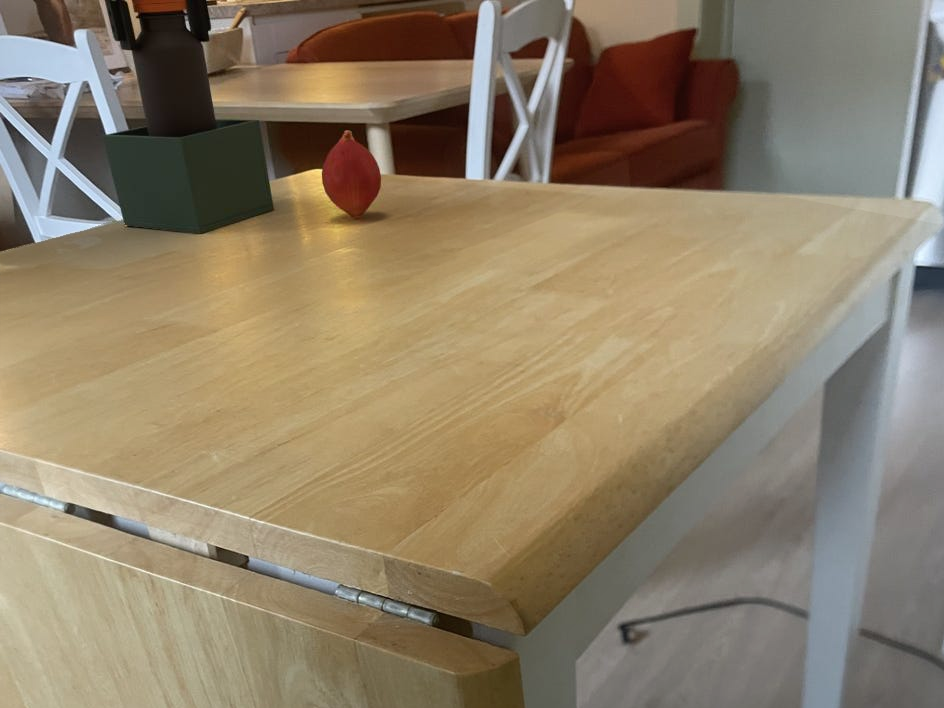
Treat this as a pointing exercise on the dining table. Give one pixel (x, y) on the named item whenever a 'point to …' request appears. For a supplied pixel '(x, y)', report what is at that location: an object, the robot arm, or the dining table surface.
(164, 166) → the open box
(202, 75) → the vinegar
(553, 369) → the dining table surface
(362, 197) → the onion
